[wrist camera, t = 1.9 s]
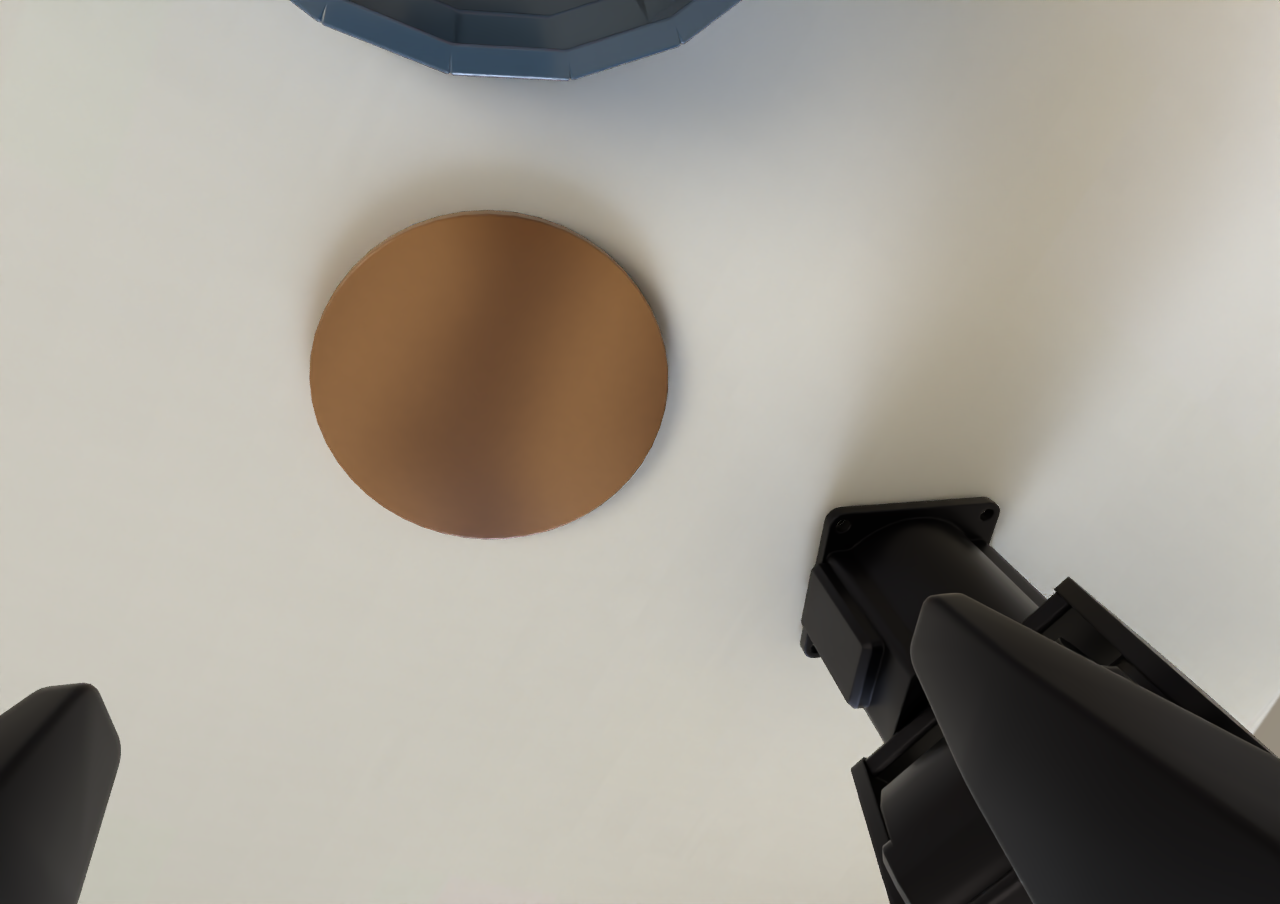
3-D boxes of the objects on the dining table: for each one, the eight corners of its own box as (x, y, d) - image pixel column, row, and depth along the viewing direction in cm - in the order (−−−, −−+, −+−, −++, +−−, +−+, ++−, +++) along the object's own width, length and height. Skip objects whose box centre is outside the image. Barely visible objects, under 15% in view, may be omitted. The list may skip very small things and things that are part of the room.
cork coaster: (675, 211, 19) (680, 216, 18) (654, 518, 23) (658, 528, 23) (282, 206, 17) (275, 211, 16) (342, 539, 21) (338, 552, 21)
